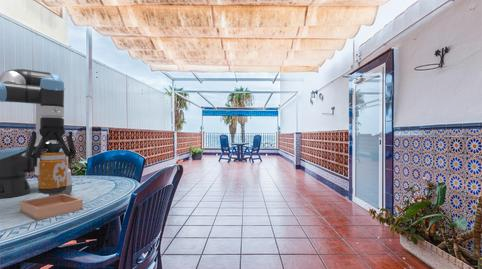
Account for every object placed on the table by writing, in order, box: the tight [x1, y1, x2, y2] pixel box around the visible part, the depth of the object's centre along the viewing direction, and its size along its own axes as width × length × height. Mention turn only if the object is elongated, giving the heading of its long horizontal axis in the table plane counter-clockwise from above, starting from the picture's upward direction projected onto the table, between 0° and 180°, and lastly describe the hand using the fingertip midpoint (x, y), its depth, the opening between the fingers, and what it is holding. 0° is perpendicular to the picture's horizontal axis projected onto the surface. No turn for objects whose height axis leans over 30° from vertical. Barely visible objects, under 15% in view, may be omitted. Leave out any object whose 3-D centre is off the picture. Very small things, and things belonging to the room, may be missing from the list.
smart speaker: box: [48, 168, 73, 196], centre depth 116 cm, size 10×9×14 cm
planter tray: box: [19, 194, 84, 221], centre depth 96 cm, size 17×15×4 cm
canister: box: [36, 142, 67, 195], centre depth 96 cm, size 9×11×20 cm
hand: (52, 173), depth 96 cm, fingers closed on canister, 9 cm apart
